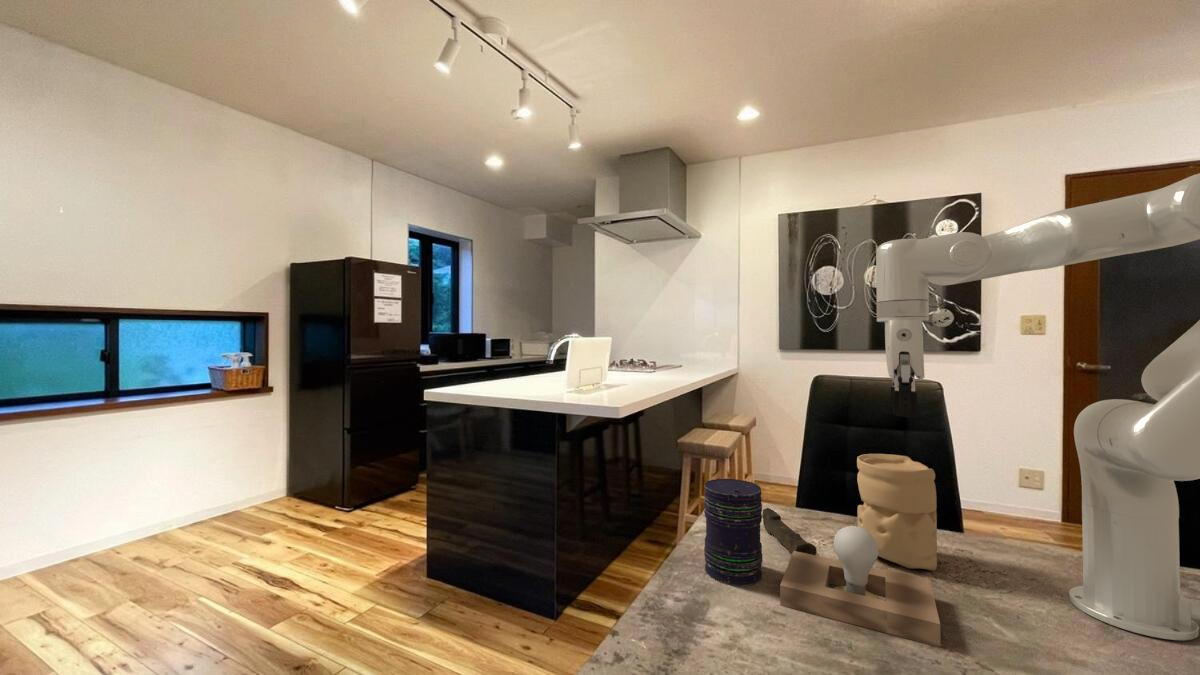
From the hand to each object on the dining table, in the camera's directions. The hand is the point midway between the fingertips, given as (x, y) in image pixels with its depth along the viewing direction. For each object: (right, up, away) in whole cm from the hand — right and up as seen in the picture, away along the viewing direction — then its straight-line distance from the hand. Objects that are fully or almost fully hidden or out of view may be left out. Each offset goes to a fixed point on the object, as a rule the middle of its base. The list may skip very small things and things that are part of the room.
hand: (903, 412), depth 80 cm
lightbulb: (-12, -28, -7) cm, 31 cm away
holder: (-12, -28, -7) cm, 32 cm away
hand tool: (-15, -29, +14) cm, 36 cm away
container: (+4, -29, +8) cm, 30 cm away
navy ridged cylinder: (-29, -29, +2) cm, 40 cm away
